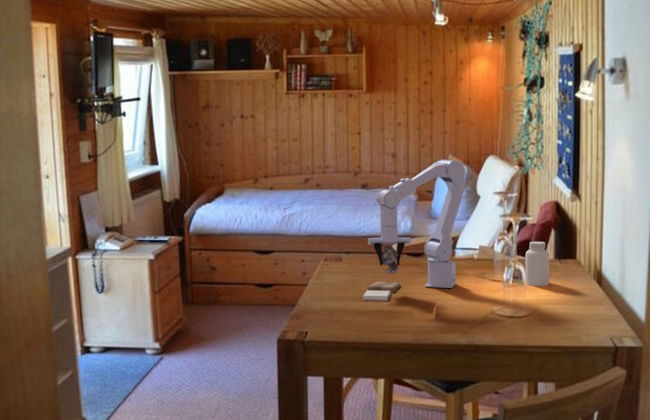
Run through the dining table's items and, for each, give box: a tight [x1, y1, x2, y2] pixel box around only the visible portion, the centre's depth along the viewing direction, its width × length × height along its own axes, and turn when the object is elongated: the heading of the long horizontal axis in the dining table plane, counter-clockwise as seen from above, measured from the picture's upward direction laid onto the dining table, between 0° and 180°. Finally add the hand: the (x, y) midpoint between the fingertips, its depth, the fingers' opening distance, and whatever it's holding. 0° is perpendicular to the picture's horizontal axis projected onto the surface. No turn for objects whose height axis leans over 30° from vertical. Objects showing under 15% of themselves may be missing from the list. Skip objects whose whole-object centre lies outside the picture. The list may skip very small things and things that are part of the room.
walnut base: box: [367, 281, 401, 294], centre depth 276 cm, size 9×9×2 cm
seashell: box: [382, 244, 399, 275], centre depth 270 cm, size 5×5×10 cm
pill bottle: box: [525, 241, 550, 287], centre depth 277 cm, size 8×8×15 cm
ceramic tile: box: [362, 289, 391, 302], centre depth 266 cm, size 8×8×2 cm
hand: (389, 265), depth 270 cm, fingers closed on seashell, 5 cm apart
